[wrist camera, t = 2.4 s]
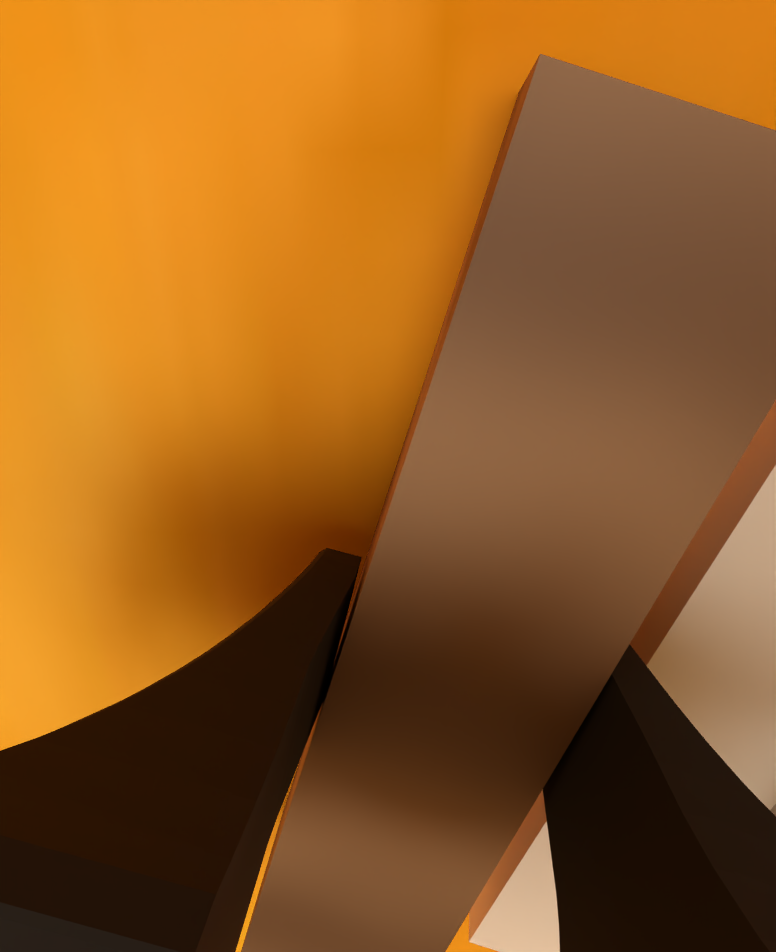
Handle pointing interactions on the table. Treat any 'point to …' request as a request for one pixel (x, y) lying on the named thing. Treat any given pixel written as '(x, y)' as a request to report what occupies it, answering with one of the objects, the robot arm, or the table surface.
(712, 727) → the ridge stand
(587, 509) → the brown wooden bar
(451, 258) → the table surface
